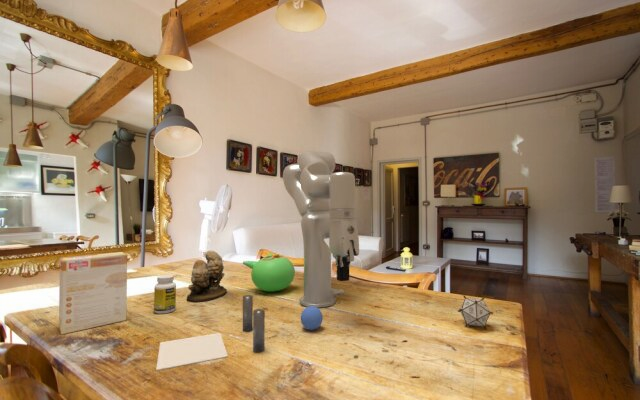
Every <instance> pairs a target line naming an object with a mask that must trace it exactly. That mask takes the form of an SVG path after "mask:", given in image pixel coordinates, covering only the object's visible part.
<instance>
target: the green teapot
mask: <svg viewBox="0 0 640 400" xmlns="http://www.w3.org/2000/svg"><path fill="white" fill-rule="evenodd" d="M242 264H243V265H244V266H246V267H248V268H250V269H251V274H250V275H251V281H252V283H253V285H254V286H255V287H256V288H258V289H259V290H260V291H263V292H268V293H273V292H279V291H282V290H284V289H286V288H287V287H289V286H290V285H291V283H292V282H293V281H294V278H295V276H296V275H295V273H296V272H295V271H296V270H295V267H294V264H293V262H292V261H291V260H290V259H288V258H287V257H285V256H282V255H280V254H274V255H273V253H272V252H268V253H267V254H266V256H265V257H263V258H261V259H259V260H258V261H254V260H253V261H251V260H243V262H242Z"/></svg>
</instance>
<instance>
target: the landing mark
mask: <svg viewBox="0 0 640 400" xmlns="http://www.w3.org/2000/svg"><path fill="white" fill-rule="evenodd" d="M228 357H229V356H228V353H227V349H226V347H225V344H224V340H223V337H222V334H221V332H217V333H212V334H211V333H210V334H205V335H198V336H192V337H187V338H179V339H174V340H173V339H172V340H167V341H160V343H159V349H158V356H157V362H156V363H157V364H156V369H155V370H156V371H161V370H162V371H163V370H167V369H171V368H172V369H173V368H176V367H181V366H187V365H188V366H189V365H192V364H193V365H194V364H199V363H204V362H209V361H213V360H214V361H215V360H219V359H225V358H228Z"/></svg>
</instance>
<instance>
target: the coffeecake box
mask: <svg viewBox="0 0 640 400" xmlns="http://www.w3.org/2000/svg"><path fill="white" fill-rule="evenodd" d="M127 273H128V254H127V253H125V252H123V251H117V252H108V253H97V254H96V253H95V254H86V255H76V256H75V255H74V256H63V257H60V259H59V289H58V290H59V291H58V292H59V298H58V299H59V301H58V302H59V303H58V305H59V308H58V315H59V316H58V329H59V331H60V334H61V335H65V334H71V333H76V332H78V331H83V330H87V329H92V328H96V327H101V326H106V325H110V324H114V323H119V322H124V321H127V316H128V315H127V314H128V313H127V311H128V310H127V308H128V307H127V306H128V304H127V299H128V297H127V296H128V295H127V293H128V292H127V290H128V280H127V279H128V275H127Z"/></svg>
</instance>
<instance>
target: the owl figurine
mask: <svg viewBox="0 0 640 400" xmlns="http://www.w3.org/2000/svg"><path fill="white" fill-rule="evenodd" d="M205 260H207V262H206V261H205ZM205 260H201V259H197V260H195V261H194V264H193V266H192V269H191V270H192V271H191V277H190V281H191V283H192V284H188V288H187V289H188V290H189V291H190V293H189V294H188V295H187V296H186V301H187V302H189V303H195V304H196V303H205V302H209V301H214V300H217V299H220V298H222V297H224V296H225V295H226V294H227V288H225V287H224V286H223V285H221V281H222V279H223V278H224V276H225V274H226V273H224V269H225V266H224V263H223V258H222V257H221V256H220V254H219V253H218V252H216V251H214V250H207V251H206V253H205Z"/></svg>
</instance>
